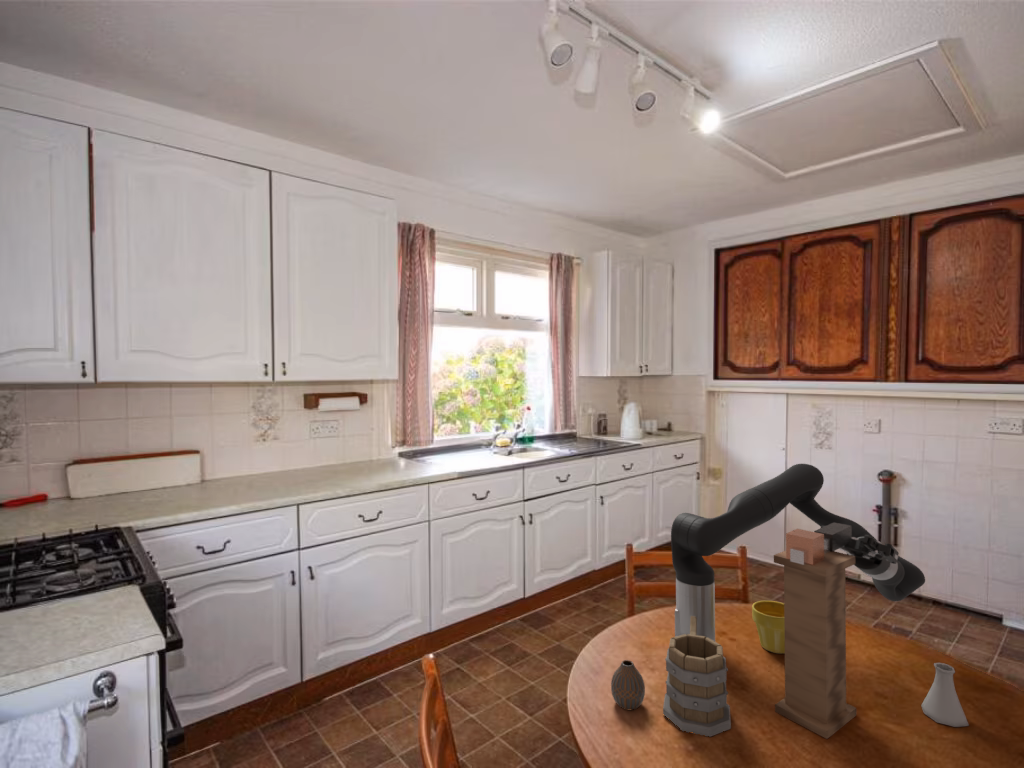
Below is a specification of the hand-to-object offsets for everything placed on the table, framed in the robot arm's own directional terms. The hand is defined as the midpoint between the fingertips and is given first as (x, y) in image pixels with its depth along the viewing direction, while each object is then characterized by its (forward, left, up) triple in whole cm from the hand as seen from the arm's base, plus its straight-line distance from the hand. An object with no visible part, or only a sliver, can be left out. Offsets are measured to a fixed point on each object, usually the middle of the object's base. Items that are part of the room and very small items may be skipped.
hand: (843, 534), depth 113 cm
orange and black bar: (-5, -7, -2) cm, 9 cm away
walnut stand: (-6, -11, -34) cm, 36 cm away
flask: (+17, -1, -34) cm, 38 cm away
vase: (-41, -23, -34) cm, 59 cm away
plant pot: (-13, +15, -34) cm, 40 cm away
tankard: (-28, -17, -34) cm, 48 cm away
